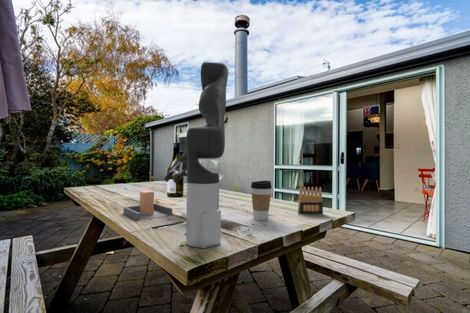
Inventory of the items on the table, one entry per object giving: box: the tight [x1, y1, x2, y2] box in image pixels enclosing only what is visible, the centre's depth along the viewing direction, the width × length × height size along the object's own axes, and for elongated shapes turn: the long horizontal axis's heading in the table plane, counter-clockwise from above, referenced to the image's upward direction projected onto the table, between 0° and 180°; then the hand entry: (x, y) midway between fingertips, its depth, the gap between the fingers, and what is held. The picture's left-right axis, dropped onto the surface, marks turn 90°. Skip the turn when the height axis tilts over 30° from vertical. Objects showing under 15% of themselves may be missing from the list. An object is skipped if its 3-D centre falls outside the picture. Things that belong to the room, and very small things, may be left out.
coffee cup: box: [250, 180, 273, 221], centre depth 100 cm, size 8×8×15 cm
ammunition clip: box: [297, 186, 324, 215], centre depth 110 cm, size 11×2×12 cm, turn 94°
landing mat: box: [150, 221, 185, 230], centre depth 91 cm, size 9×12×1 cm
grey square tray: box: [123, 202, 173, 221], centre depth 101 cm, size 15×14×4 cm
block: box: [139, 190, 155, 215], centre depth 102 cm, size 4×4×9 cm
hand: (169, 181), depth 109 cm, fingers open, 8 cm apart
